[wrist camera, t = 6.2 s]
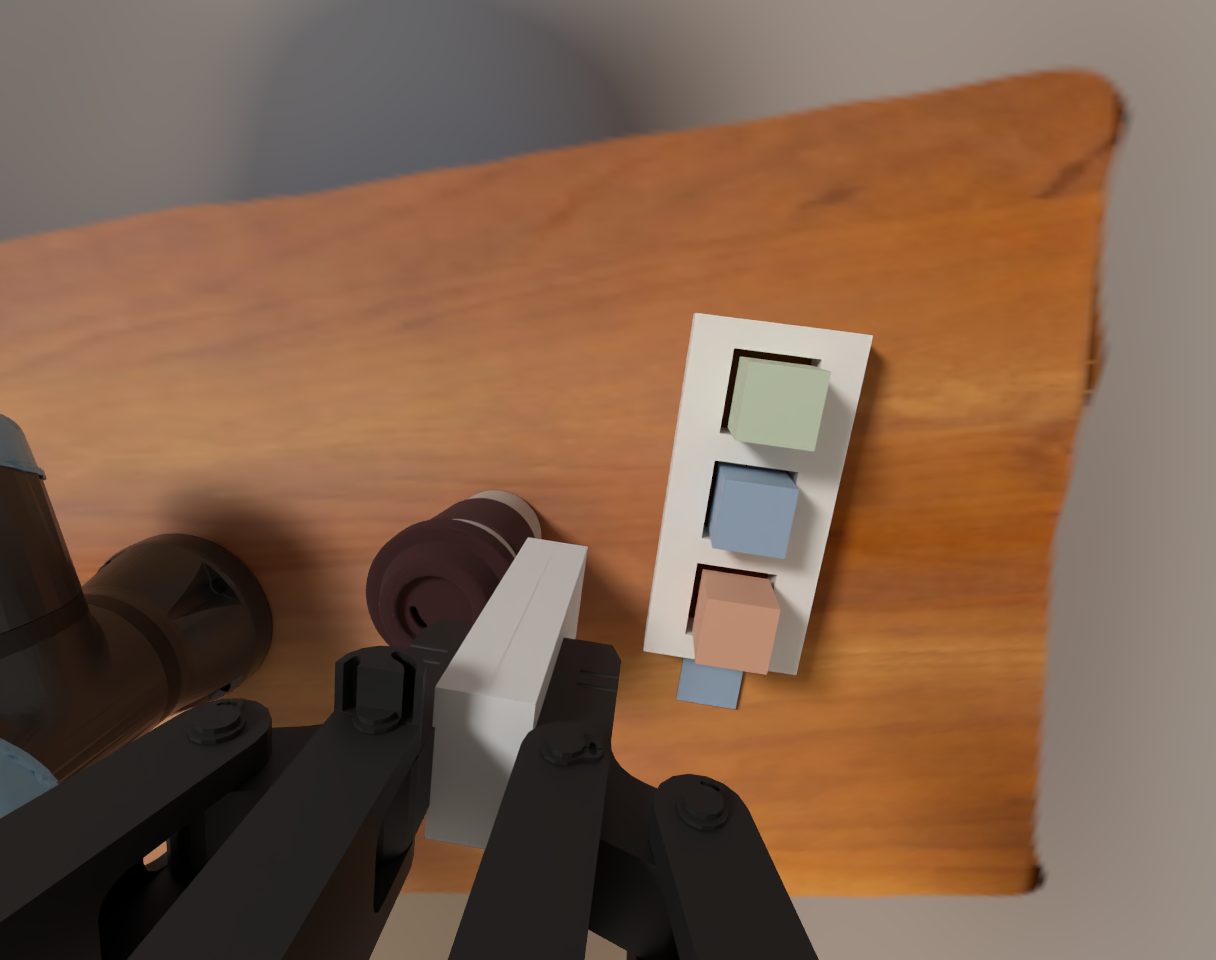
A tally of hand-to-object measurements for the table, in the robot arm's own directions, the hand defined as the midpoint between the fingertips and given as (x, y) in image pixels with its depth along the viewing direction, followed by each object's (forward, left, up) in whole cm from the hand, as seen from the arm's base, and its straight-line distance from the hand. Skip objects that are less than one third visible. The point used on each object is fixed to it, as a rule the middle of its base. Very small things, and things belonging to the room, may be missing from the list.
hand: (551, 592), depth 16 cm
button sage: (+10, +3, -31) cm, 32 cm away
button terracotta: (+10, -13, -31) cm, 35 cm away
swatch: (+10, -21, -34) cm, 41 cm away
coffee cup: (-9, -11, -34) cm, 37 cm away
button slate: (+10, -5, -33) cm, 35 cm away
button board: (+10, -5, -34) cm, 35 cm away
